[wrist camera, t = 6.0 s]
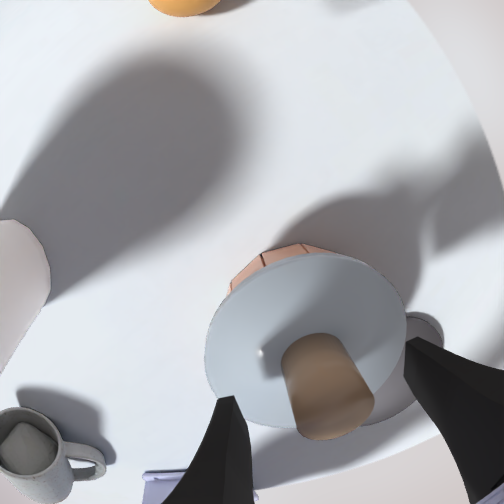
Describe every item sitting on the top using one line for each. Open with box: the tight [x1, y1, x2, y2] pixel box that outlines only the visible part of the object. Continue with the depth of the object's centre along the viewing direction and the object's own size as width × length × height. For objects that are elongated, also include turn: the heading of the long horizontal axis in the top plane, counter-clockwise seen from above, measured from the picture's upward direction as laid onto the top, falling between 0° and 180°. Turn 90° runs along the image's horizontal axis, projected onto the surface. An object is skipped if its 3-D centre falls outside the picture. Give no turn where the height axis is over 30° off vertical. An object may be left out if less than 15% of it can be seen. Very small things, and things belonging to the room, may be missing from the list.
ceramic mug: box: [0, 407, 106, 504], centre depth 16 cm, size 11×8×8 cm
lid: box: [204, 253, 407, 440], centre depth 11 cm, size 10×10×4 cm
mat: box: [360, 317, 443, 426], centre depth 19 cm, size 10×10×1 cm
